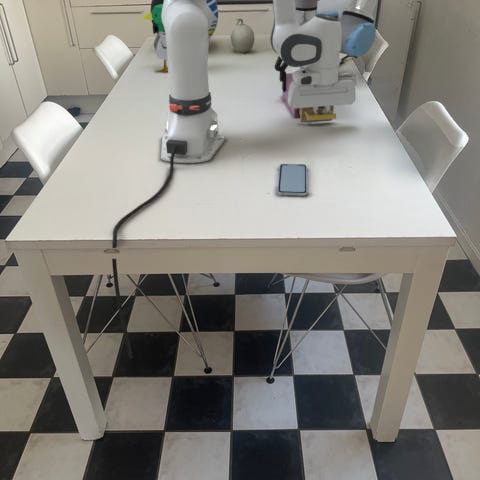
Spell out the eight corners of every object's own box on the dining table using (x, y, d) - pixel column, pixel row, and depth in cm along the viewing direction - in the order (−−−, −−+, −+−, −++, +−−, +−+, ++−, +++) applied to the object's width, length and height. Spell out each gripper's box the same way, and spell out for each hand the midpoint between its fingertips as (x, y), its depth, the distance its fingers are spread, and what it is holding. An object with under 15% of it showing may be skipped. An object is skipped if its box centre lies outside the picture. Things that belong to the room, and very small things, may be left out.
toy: (155, 65, 218) (148, 2, 203) (198, 69, 211) (194, 5, 197) (145, 70, 212) (137, 6, 198) (190, 75, 205) (185, 9, 191)
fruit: (247, 46, 238) (247, 12, 230) (258, 52, 229) (258, 17, 221) (227, 49, 235) (225, 14, 226) (236, 55, 226) (235, 19, 218)
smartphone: (277, 192, 126) (279, 163, 138) (277, 196, 127) (279, 166, 139) (307, 193, 125) (307, 164, 137) (307, 196, 126) (306, 167, 138)
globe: (220, 56, 226) (217, -19, 209) (152, 59, 225) (143, -17, 207) (218, 39, 250) (215, -30, 233) (156, 41, 249) (149, -28, 232)
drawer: (337, 127, 158) (339, 108, 154) (305, 130, 157) (306, 110, 153) (317, 99, 177) (319, 82, 174) (288, 101, 176) (289, 84, 173)
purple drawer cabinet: (328, 115, 168) (330, 90, 164) (294, 117, 167) (295, 93, 163) (313, 94, 185) (314, 71, 180) (282, 96, 184) (282, 73, 179)
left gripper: (354, 68, 154) (349, 113, 162) (287, 73, 151) (285, 118, 159) (361, 75, 148) (356, 120, 156) (292, 80, 146) (290, 125, 154)
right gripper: (337, 18, 170) (331, 83, 183) (266, 22, 168) (265, 87, 181) (343, 23, 164) (337, 90, 177) (270, 27, 162) (269, 95, 175)
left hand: (320, 119), depth 158 cm, fingers closed, pressing on drawer
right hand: (300, 89), depth 179 cm, fingers closed on purple drawer cabinet, 11 cm apart
